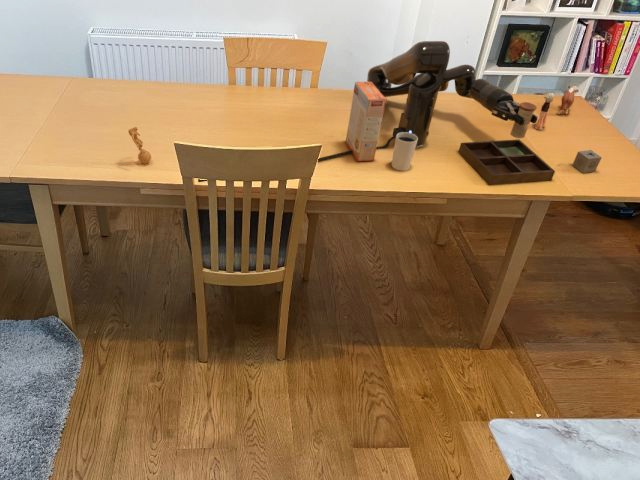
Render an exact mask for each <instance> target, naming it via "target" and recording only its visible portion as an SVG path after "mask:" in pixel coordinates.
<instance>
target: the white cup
mask: <svg viewBox="0 0 640 480" xmlns="http://www.w3.org/2000/svg"><path fill="white" fill-rule="evenodd" d="M417 140H418V137H417V136H416V135H414V134H412V133H408V132H401V133H398V134H397V135H396V138H395V139H394V146H393V151H392V159H391V167H392V168H393V169H395V170H398V171H407V170H409V169H410V167H411V164H412V160H413V157H414V154H415V151H416V148H415V147H416V144H417Z"/></svg>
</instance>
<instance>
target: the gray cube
mask: <svg viewBox="0 0 640 480" xmlns="http://www.w3.org/2000/svg"><path fill="white" fill-rule="evenodd" d="M601 160H602V156H601V155H599V154H597V153H596V152H595V151H594V150H591V149H589V150H581V151H577V153H576V155H575V158H574V160H573V162H572V165H571V166H572V167H573V168H575V169H576V170H578V171H579V172H580V173H581V174H586V173H592V172H596V171H597V170H598V169H597V168H598V166H599V165H600V162H601Z"/></svg>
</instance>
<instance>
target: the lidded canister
mask: <svg viewBox="0 0 640 480" xmlns="http://www.w3.org/2000/svg"><path fill="white" fill-rule="evenodd" d="M519 104H520V105H519V111H518V115H520V116H522V117H523V118H525V122H524V124H523V125H519V124H518V123H516V122H515V121H513V122H514V123H513V125H512V128H511V131H510V136H512V137H513V138H516V139H524V138H525V137H526V134H527V132H528V128H529V126H530V123H531V122H530V121H531V118H532V115H533V114H534V112H535V111H537V105H536V104H534V103H531V102H526V101H523V102H520V103H519Z"/></svg>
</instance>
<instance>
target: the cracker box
mask: <svg viewBox="0 0 640 480" xmlns="http://www.w3.org/2000/svg"><path fill="white" fill-rule="evenodd" d="M386 98H387V97H384V96H383V95H382V94H381V92H380V91H379V90H378V89H377V88H376V86H375V85H374V84H373V83H372V82H369V81H368V82H367V81H354V88H353V93H352V98H351V99H352V100H351V106H350V111H349V112H350V113H349V118H348V125H347V130H346V136H345V143H346V145H347V147H348V149H350V150H353V153H352V155H353V156H354V157H355V159H356V161H357V162H371V161H375V158H376V157H375V156H376V151H377V149H376V147H378V141H379V137H380V132H381V127H382V121H383V117H384V112H385V107H386V101H387V99H386Z"/></svg>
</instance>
